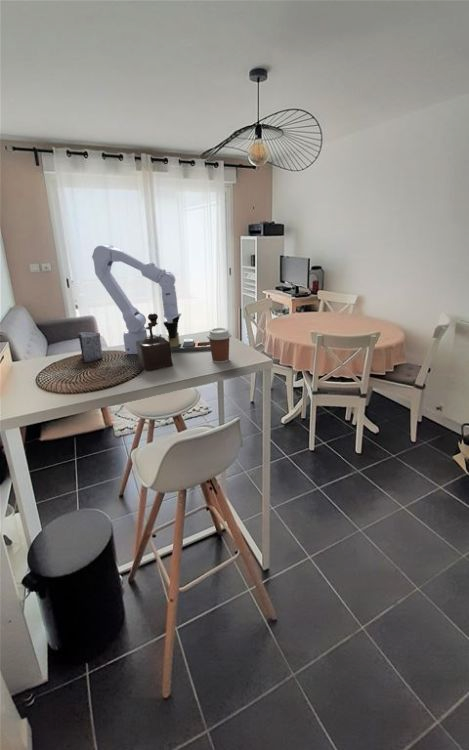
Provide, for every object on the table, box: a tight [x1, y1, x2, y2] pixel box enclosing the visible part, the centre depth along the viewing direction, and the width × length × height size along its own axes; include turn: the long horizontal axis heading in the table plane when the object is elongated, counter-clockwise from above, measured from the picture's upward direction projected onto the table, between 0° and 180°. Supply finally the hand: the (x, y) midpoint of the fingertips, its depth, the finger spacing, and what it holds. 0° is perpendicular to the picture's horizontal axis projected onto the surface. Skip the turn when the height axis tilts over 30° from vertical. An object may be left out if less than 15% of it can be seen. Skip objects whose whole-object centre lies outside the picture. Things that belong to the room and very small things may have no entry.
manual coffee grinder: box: [136, 312, 174, 372], centre depth 136 cm, size 16×11×18 cm
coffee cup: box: [206, 327, 232, 364], centre depth 136 cm, size 9×9×12 cm
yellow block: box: [167, 331, 181, 348], centre depth 152 cm, size 4×4×7 cm
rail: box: [171, 340, 211, 353], centre depth 153 cm, size 20×7×2 cm, turn 93°
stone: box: [77, 331, 105, 363], centre depth 145 cm, size 12×10×10 cm
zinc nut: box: [183, 338, 195, 347], centre depth 153 cm, size 4×4×4 cm
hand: (173, 335), depth 151 cm, fingers open, 7 cm apart
